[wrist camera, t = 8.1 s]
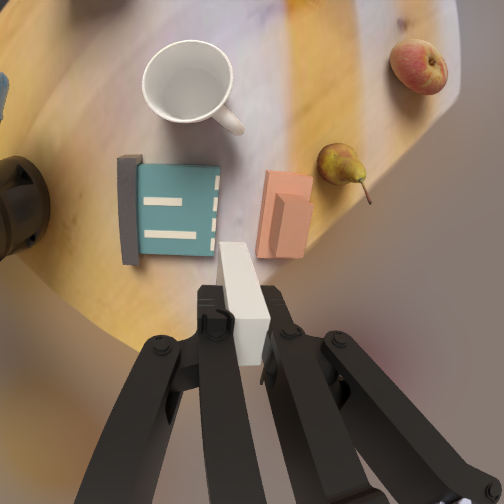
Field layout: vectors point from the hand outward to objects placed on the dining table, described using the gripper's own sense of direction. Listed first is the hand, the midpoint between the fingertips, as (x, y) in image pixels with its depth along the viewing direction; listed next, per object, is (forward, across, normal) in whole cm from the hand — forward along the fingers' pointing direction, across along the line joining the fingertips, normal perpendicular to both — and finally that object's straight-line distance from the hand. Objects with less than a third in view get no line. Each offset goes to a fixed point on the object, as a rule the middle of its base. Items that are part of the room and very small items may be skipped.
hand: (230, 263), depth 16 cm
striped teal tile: (+22, -6, -4) cm, 23 cm away
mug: (+22, -3, +10) cm, 24 cm away
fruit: (+22, +15, +5) cm, 27 cm away
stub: (+21, +10, -4) cm, 24 cm away
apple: (+22, +26, +23) cm, 41 cm away
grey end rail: (+22, -11, -4) cm, 25 cm away
